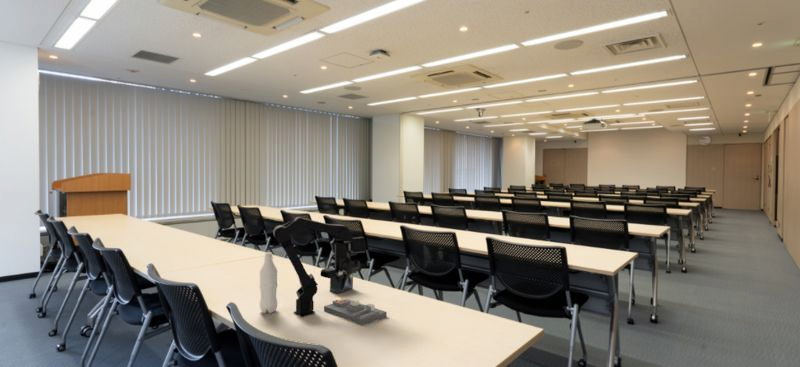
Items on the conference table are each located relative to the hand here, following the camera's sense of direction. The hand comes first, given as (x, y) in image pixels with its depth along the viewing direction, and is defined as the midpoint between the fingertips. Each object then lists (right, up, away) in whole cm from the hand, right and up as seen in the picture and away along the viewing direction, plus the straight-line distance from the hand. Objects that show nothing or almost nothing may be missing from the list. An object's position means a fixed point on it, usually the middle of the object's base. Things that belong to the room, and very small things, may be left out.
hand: (341, 289), depth 174 cm
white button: (+7, -5, -6) cm, 10 cm away
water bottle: (-30, -8, -4) cm, 32 cm away
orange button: (0, -6, 0) cm, 6 cm away
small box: (-4, -8, +28) cm, 29 cm away
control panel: (+7, -9, -6) cm, 12 cm away
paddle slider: (+13, -7, -10) cm, 18 cm away
